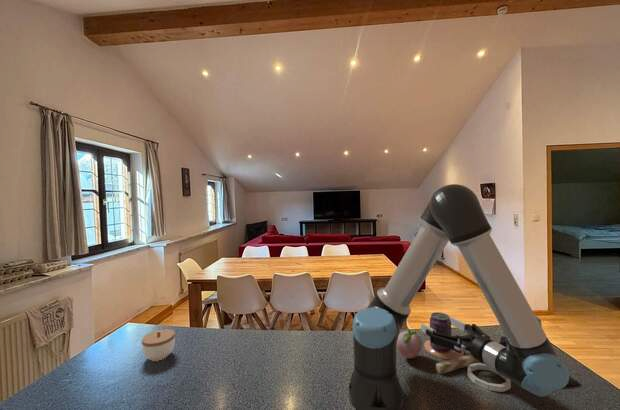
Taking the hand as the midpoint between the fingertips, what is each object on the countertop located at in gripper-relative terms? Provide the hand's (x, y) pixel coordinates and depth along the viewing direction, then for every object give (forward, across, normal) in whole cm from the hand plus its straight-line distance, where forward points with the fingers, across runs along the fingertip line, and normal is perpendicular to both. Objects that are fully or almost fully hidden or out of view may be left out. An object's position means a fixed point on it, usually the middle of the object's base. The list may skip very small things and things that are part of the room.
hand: (436, 323), depth 105 cm
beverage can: (-3, -1, -8) cm, 9 cm away
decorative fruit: (-3, -15, -8) cm, 18 cm away
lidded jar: (+32, -98, -8) cm, 103 cm away
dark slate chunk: (-21, +19, -9) cm, 30 cm away
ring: (-21, 0, -8) cm, 22 cm away
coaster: (-3, 0, -8) cm, 9 cm away
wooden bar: (-13, -3, -8) cm, 16 cm away
